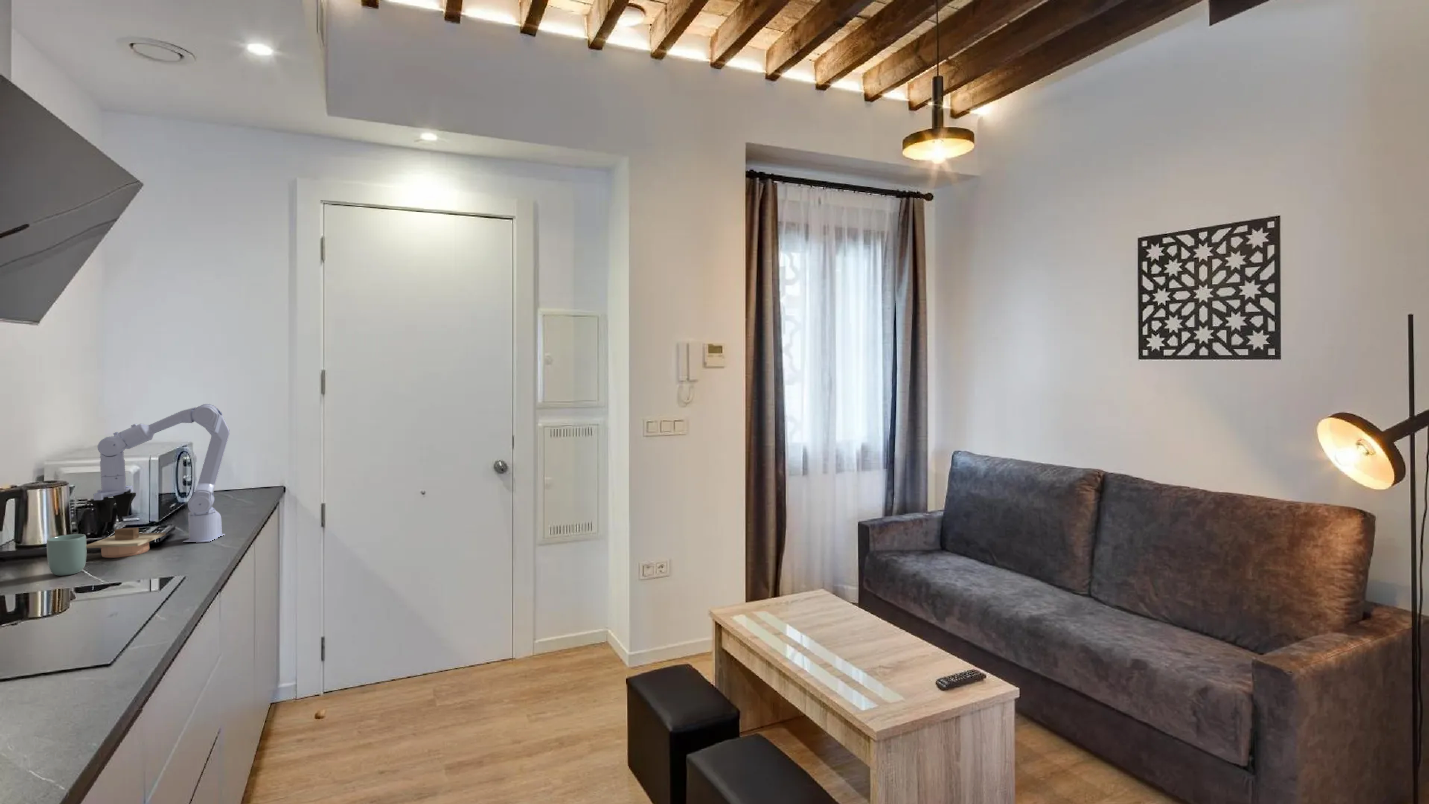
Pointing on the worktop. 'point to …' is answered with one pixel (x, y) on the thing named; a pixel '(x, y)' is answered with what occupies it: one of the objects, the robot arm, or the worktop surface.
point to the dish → (124, 551)
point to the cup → (67, 554)
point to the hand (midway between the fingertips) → (115, 519)
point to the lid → (126, 538)
